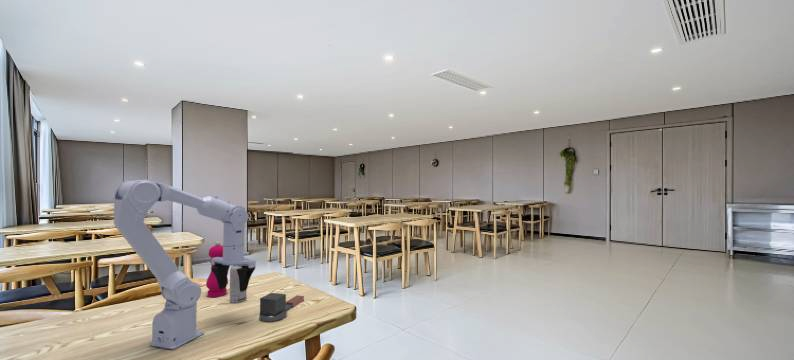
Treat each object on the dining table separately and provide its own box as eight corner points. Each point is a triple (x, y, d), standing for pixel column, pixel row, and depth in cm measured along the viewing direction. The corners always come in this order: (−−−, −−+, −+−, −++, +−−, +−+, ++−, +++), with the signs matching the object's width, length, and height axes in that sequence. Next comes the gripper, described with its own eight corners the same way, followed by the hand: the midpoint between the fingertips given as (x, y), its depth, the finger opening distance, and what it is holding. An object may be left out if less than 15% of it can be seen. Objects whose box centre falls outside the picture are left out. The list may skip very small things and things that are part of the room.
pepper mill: (208, 292, 125) (209, 240, 125) (229, 290, 127) (230, 239, 127) (203, 298, 118) (204, 243, 118) (225, 296, 120) (226, 242, 120)
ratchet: (276, 323, 97) (276, 308, 97) (253, 320, 99) (253, 305, 99) (310, 301, 116) (310, 288, 116) (290, 299, 118) (290, 286, 118)
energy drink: (249, 298, 119) (249, 265, 119) (240, 303, 113) (241, 268, 113) (235, 297, 119) (235, 264, 119) (226, 302, 114) (226, 268, 114)
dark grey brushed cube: (275, 316, 99) (275, 300, 99) (259, 314, 100) (260, 298, 100) (285, 310, 104) (285, 294, 104) (271, 308, 105) (271, 292, 105)
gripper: (262, 243, 101) (262, 287, 101) (224, 241, 105) (223, 283, 105) (246, 248, 95) (245, 295, 94) (206, 245, 99) (205, 290, 98)
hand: (232, 289), depth 99 cm, fingers open, 7 cm apart
